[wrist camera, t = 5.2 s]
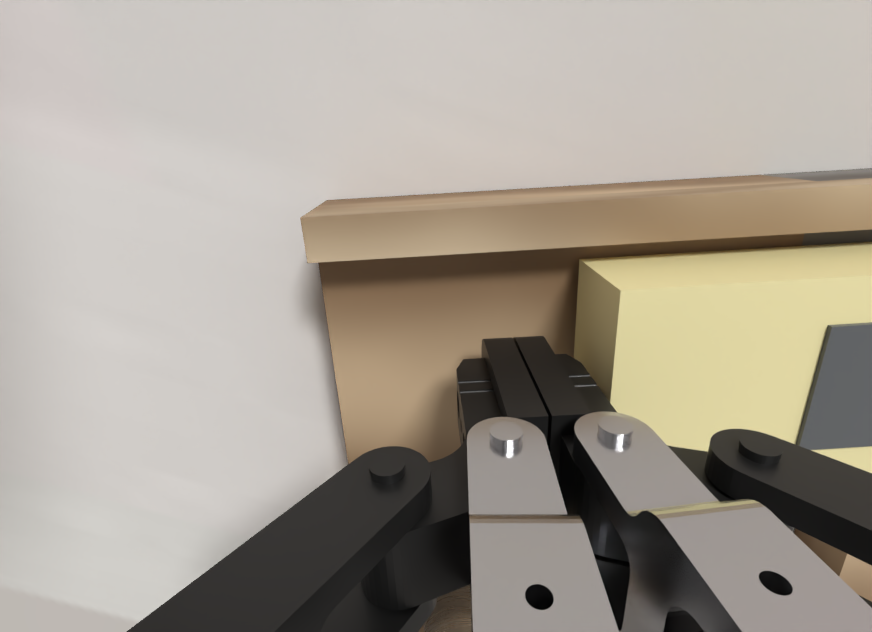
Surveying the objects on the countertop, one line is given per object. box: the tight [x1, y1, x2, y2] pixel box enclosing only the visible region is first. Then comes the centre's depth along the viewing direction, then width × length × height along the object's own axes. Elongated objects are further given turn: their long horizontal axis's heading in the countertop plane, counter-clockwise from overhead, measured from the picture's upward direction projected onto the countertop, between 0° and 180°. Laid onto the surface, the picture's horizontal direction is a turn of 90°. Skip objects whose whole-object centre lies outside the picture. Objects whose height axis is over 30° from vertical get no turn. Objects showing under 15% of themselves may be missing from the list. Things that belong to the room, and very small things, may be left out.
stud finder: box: [574, 242, 872, 473], centre depth 11 cm, size 5×8×3 cm, turn 93°
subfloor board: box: [300, 168, 872, 632], centre depth 14 cm, size 16×20×3 cm
